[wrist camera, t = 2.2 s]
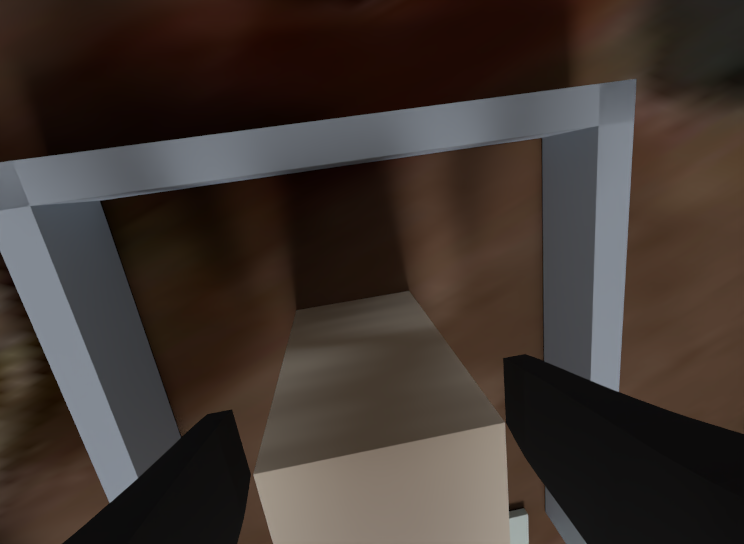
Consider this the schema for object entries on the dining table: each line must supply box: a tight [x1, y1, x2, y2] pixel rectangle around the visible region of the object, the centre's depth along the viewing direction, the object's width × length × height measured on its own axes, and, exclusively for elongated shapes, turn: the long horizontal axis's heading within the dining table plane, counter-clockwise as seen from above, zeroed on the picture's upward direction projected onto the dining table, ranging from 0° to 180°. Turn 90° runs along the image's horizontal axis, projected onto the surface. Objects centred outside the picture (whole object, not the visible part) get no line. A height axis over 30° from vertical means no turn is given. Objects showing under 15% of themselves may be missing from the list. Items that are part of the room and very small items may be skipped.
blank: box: [253, 291, 510, 544], centre depth 9 cm, size 4×4×7 cm
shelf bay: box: [0, 79, 636, 544], centre depth 12 cm, size 16×17×2 cm
